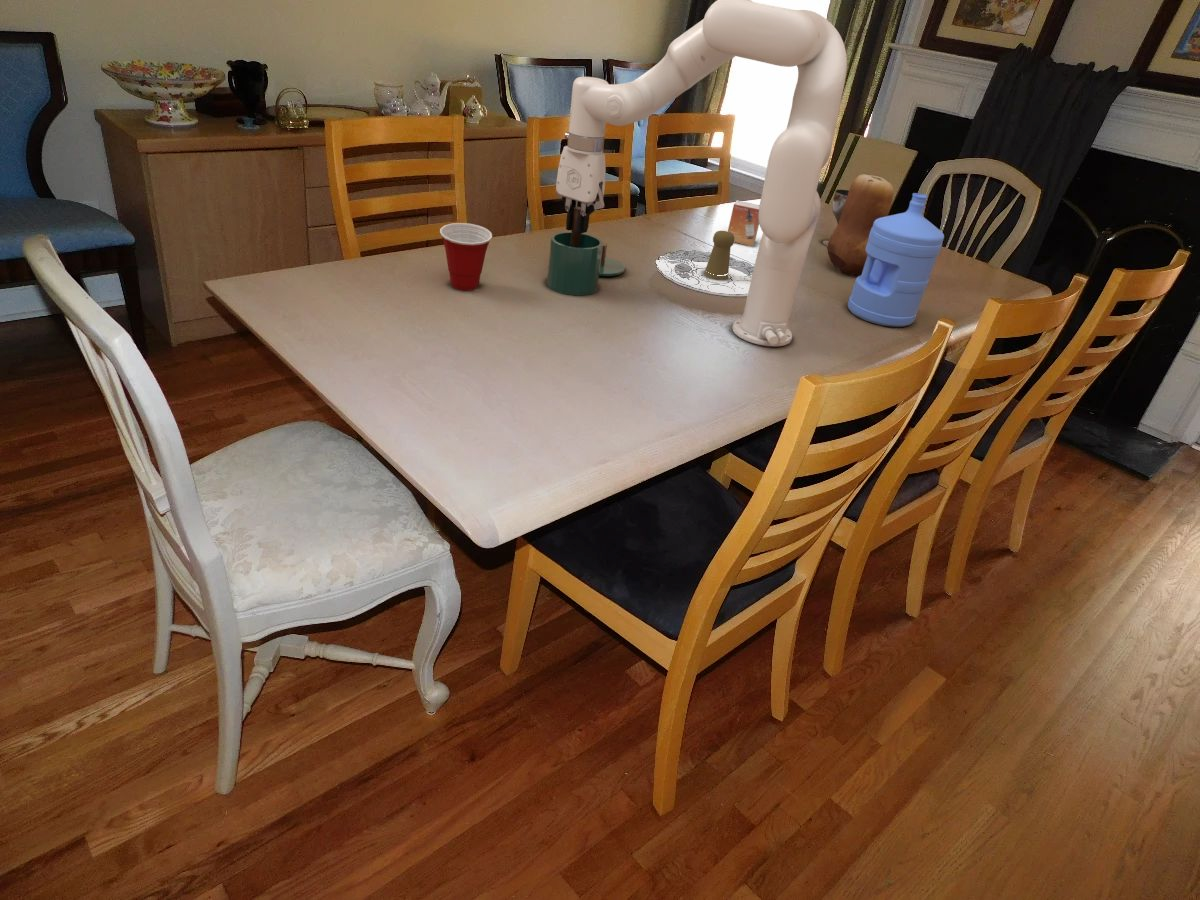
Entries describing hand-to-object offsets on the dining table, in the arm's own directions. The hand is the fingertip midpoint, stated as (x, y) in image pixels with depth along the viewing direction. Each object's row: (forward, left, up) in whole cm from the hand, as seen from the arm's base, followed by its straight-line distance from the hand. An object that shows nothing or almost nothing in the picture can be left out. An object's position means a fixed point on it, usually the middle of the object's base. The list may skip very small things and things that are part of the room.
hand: (576, 230), depth 169 cm
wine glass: (+45, -85, -12) cm, 97 cm away
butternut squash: (+21, -78, -12) cm, 82 cm away
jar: (-2, 0, -12) cm, 12 cm away
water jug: (-9, -73, -12) cm, 74 cm away
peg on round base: (0, 0, -11) cm, 11 cm away
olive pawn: (+11, -38, -12) cm, 41 cm away
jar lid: (+10, -8, -11) cm, 17 cm away
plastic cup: (-6, +24, -12) cm, 28 cm away
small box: (+41, -54, -12) cm, 69 cm away
